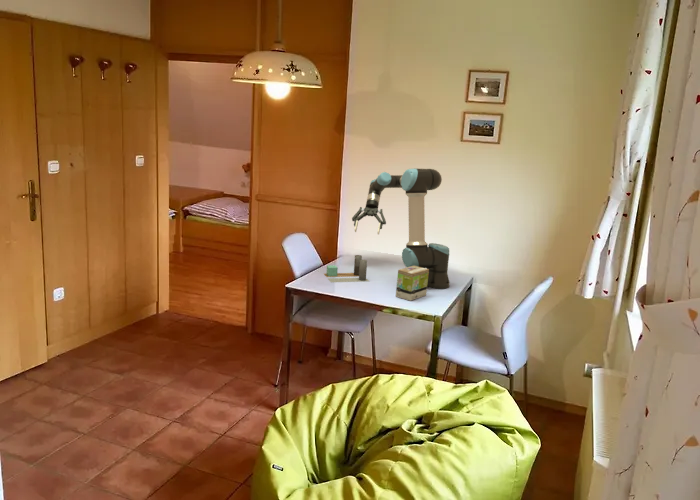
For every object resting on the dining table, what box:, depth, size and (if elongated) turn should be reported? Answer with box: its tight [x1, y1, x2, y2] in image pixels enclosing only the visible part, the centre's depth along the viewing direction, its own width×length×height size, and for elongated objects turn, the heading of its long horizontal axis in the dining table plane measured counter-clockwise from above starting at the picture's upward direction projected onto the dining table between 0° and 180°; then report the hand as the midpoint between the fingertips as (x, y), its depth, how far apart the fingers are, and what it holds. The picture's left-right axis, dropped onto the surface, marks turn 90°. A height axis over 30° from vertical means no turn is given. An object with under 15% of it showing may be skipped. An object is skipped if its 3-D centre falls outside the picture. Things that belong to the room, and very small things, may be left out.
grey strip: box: [327, 259, 370, 283], centre depth 339 cm, size 7×22×12 cm, turn 106°
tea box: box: [395, 266, 429, 302], centre depth 320 cm, size 15×10×15 cm
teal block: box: [326, 264, 339, 276], centre depth 347 cm, size 5×5×5 cm
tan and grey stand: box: [323, 254, 363, 278], centre depth 348 cm, size 7×22×12 cm, turn 106°
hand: (366, 231), depth 360 cm, fingers open, 13 cm apart
